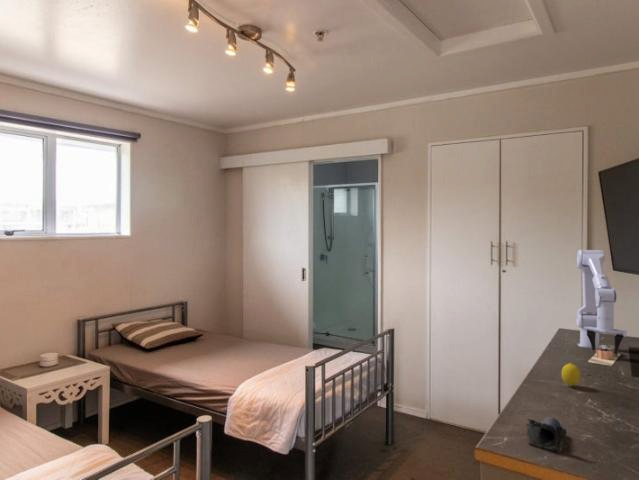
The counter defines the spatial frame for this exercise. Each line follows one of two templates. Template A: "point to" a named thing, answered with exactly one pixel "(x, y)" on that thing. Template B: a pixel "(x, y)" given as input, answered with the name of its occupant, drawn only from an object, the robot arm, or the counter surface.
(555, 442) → the black camera
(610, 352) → the gear
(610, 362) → the board
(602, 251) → the robot arm
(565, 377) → the lemon
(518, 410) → the counter surface
